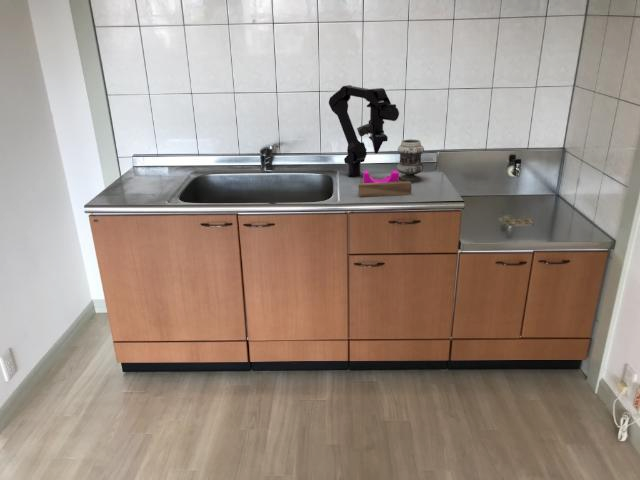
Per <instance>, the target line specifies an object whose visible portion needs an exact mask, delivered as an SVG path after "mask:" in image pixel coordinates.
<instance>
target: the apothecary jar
mask: <svg viewBox="0 0 640 480" xmlns="http://www.w3.org/2000/svg"><path fill="white" fill-rule="evenodd" d="M397 152H398V154H399V155H400V156H399V163H397V165H396V171H398V172H399V174H400V173H401V174H402V175H401V176H400V177H399V182H400V181H410V182H411V183H417V182H420V181H421V177H419V176H418V175H417V174H419V173H421V172H423V170H424V164H422V154H423V153H424V152H425V147H424V146H423V145H422V142H421V140H419V139H412V138H409V139H408V138H407V139H402V140H401V143H400V145H398V147H397Z"/></svg>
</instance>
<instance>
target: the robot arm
mask: <svg viewBox="0 0 640 480" xmlns="http://www.w3.org/2000/svg"><path fill="white" fill-rule="evenodd" d="M351 96H352V97H355V98H356V97H357V98H361V99H365V100H366V101H367V102H369V103H368V104H367V105H366V107H367V108H370V109H369V111H370V113H369V116H370V118H369V120H368V123H366V124H364V125H360V126H358V127H357V128H356V129H357V132H358V135H359V137H363V136H365V135H368V138H369V139H370V141H371V142H372V146H373V152H374V154H379V151H380V149H381V147H382V145H383V143H384V142H388V136H387V134H385V131H384V125H385V121H392V122H395V121H398V118H399V115H400V111H399V109H398V107H397V105H396V104H394V103H393V104H392V102H391V101H390V98H389V96H388V95H387V92H386V90H385V89H384V88H383V87H378V88H377V87H376V88H365V87H360V86H359V87H358V86H353V85H349V84H348V85H343V86H341V87H340V89H339V90H337V91H336V92H335V93H334V94H332V96H330V97H329V100H328V106H329V107H330V110H331V111H332V112H333V113H334V114H335V115H336V116H337V119H338V120H339V123H340V124H339V125H341V129H342V131H343V134H344V137H345V139H346V143H347V150H346V151H347V155H346V156H345V157H344V159H343V161H344V164H345V165H346V164H347V165H348V172H346V174H347V176H348V177H349V178H357V177H358V178H360V177H363V174H362V172H361V170H362V169H361V166H362V165H361V163H364V162H365V161H366V157H367V155H368V153H367V151H368V150H367V148H366V145H365V142H364V141H362V142H360V140H359V139H358V137H357V134H356V131H355V128H354V126H353V123H352V121H351V118H350V114H349V111H348V110H349V101H350V100H351ZM369 134H370V136H369Z"/></svg>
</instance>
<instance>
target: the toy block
mask: <svg viewBox="0 0 640 480" xmlns="http://www.w3.org/2000/svg"><path fill="white" fill-rule="evenodd" d="M399 176H400V172H399V171H398V170H392V171H391V173H390V175H387V176H386V177H385V178H381V179H380V178H379V179H378V178H372V177H371V176H370V173H369V171H368V170H367V171H366V170H363V183H380V182H400V180H399V178H400V177H399Z"/></svg>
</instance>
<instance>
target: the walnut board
mask: <svg viewBox="0 0 640 480" xmlns="http://www.w3.org/2000/svg"><path fill="white" fill-rule="evenodd" d="M357 193H358V197H359V198H367V197H369V198H370V197H371V198H372V197H385V196H387V197H388V196H401V195H402V196H404V195H405V196H406V195H412V182H410V181H400V180H399V181H398V182H380V183H358V191H357Z"/></svg>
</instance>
